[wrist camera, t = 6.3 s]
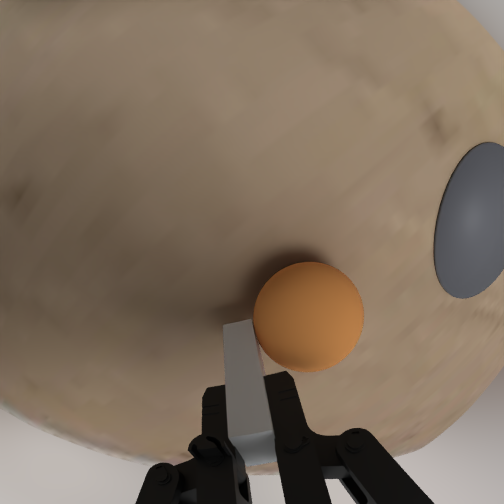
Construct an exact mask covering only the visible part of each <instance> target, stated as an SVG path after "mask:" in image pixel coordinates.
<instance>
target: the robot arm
mask: <svg viewBox="0 0 504 504" xmlns="http://www.w3.org/2000/svg"><path fill="white" fill-rule="evenodd" d="M223 343H224V368H225V385H220V386H214V387H208V388H207V389H206V391H205V393H204V395H203V397H202V408H203V409H202V435H199V436H197V437H196V438H194V439H193V440H192V441H191V443H190V444H189V447H188V451H189V452H190V453H191V454H192V455H193V457H194V458H193V459H191V460H189V461H186V462H183V463H181V464H178V465H175V466H173V465H171V464H169V463H158V464H155V465H154V466H152V467H151V468H150V469H149V471H148V473H147V475H146V477H145V480H144V483H143V485H142V488H141V490H140V493H139V496H138V498H137V501H136V504H252V498H251V492H250V483H249V478H248V475H247V473H246V470H245V464H246V466H254V465H260V464H265V463H271V462H276V461H277V463H278V468H279V473H280V477H281V483H282V488H283V493H284V497H285V503H286V504H332V503H331V499H330V496H329V493H328V489H327V486H326V483H325V479H339V480H340V482H341V483H342V485H343V486H344V488H345V489H346V490H347V492H348V493H349V494H350V496H351V497H352V499H353V500H354V501H355V503H356V504H434V503H433V502H432V500H431V499H430V498H429V497H428V496H427V495H426V494H425V493H424V492H423V491H422V490H421V489H420V487H418V485H417V484H416V483H415V482H414V481H413V480H412V479H411V478H410V476H409V475H408V474H407V473H406V472H405V471H404V470H403V469H402V468H401V467H400V465H399V464H398V463H397V462H396V461H395V460H394V459H393V458H392V456H391V455H390V454H389V453H388V452H387V451H386V450H385V448H384V447H383V446H382V445H381V444H380V443H379V442H378V440H377V439H376V438H375V437H374V436H373V435H372V434H371V433H370V432H369V431H367V430H366V429H362V428H352V429H349V430H347V431H345V432H344V433H342V434H341V435H337V436H324V435H319V434H316V433H315V432H313V431H312V430H311V429H310V428H309V427H308V425H307V422H306V419H305V416H304V412H303V409H302V406H301V402H300V399H299V396H298V392H297V389H296V386H295V382H294V379H293V377H292V376H291V375H290V374H289V373H288V372H287V371H283V372H279V373H275V374H271V375H266V374H265V369H264V364H263V359H262V355H261V351H260V348H259V344H258V341H257V337H256V334H255V330H254V326H253V322H252V319H248V320H243V321H239V322H235V323H230V324H225V325H223Z"/></svg>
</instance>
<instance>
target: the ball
mask: <svg viewBox="0 0 504 504" xmlns="http://www.w3.org/2000/svg"><path fill="white" fill-rule="evenodd" d="M363 322H364V310H363V304H362V300H361V297H360V295H359V293H358V290H357V288H356V287H355V285H354V284H353V283H352V281H351V280H350V279H349V278H348V277H347V276H346V275H345V274H344V273H342V272H341V271H339V270H338V269H336V268H334V267H332V266H330V265H327V264H323V263H318V262H302V263H297V264H293V265H290V266H287V267H285V268H283V269H281V270H280V271H278V272H277V273H276V274H274V275H273V276H272V277H271V278H270V279H269V280H268V281H267V282H266V283H265V285H264V286H263V287H262V289H261V291H260V293H259V295H258V297H257V300H256V303H255V306H254V314H253V324H254V330H255V334H256V337H257V339H258V342H259V344H260V345H261V347H262V348H263V350H264V351H265V353H266V354H267V355H268V356H269V357H270V358H271V359H272V360H274V361H275V362H276V363H278V364H279V365H281V366H283V367H285V368H288V369H291V370H294V371H299V372H316V371H321V370H324V369H327V368H330V367H332V366H334V365H336V364H337V363H339V362H340V361H342V360H343V359H344V358H345V357H346V356H347V355H348V354H349V353H350V352H351V351H352V349H353V348H354V347H355V345H356V343H357V341H358V339H359V337H360V335H361V332H362V328H363Z"/></svg>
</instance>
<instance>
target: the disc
mask: <svg viewBox="0 0 504 504" xmlns="http://www.w3.org/2000/svg"><path fill="white" fill-rule="evenodd" d="M434 261H435V268H436V273H437V276H438V279H439V282H440V283H441V285H442V287H443V288H444V289H445V291H446V292H447V293H449V294H450V295H452V296H453V297H456V298H462V299H463V298H469V297H473V296H475V295H477V294H479V293H481V292H482V291H484V290H485V289H486V288H487V287H489V286H490V285H491V284H492V283H493V282H494V281H495V280H496V278H497V277H498V276H499V275H500V273H501V272H502V271H503V269H504V147H503V146H501V145H499V144H496V143H489V142H487V143H482V144H480V145H477V146H475V147H474V148H473V149H471V150H470V151H469V152H468V153H467V154H466V155H465V156H464V157H463V159H462V160H461V161H460V163H459V164H458V165H457V167H456V169H455V171H454V172H453V174H452V176H451V178H450V181H449V183H448V185H447V188H446V190H445V193H444V196H443V199H442V202H441V206H440V209H439V213H438V218H437V223H436V229H435V238H434Z"/></svg>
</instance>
